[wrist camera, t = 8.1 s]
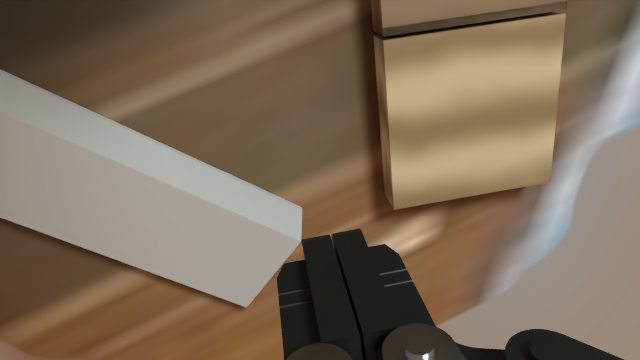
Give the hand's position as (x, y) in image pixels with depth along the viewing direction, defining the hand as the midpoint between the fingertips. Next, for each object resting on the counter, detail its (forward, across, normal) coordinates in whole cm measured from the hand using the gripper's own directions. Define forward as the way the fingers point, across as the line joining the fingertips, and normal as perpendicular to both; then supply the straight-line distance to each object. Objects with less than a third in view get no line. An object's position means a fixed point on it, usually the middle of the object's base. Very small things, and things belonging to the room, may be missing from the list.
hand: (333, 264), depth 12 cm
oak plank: (+28, -15, +7) cm, 32 cm away
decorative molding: (+28, +17, +7) cm, 34 cm away
